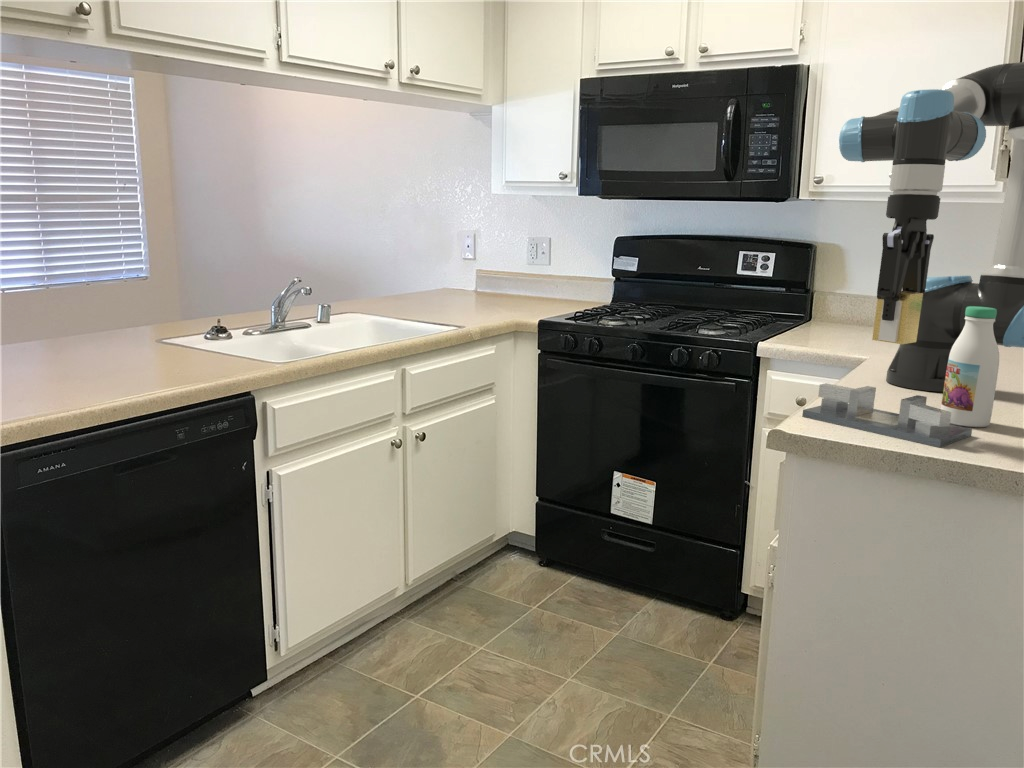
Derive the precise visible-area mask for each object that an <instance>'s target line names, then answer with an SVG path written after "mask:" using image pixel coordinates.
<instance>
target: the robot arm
mask: <svg viewBox="0 0 1024 768" xmlns="http://www.w3.org/2000/svg"><path fill="white" fill-rule="evenodd" d="M986 127H1008V129H1007V134H1008V135H1009V136H1010V138H1011V139H1012V140H1013V141H1014V145H1013V150H1012V155H1011V159H1010V161H1011V162H1010V164H1009V165H1010V167H1009V172H1008V177H1007V182H1006V186H1005V192H1004V198H1003V203H1002V207H1001V213H1000V219H999V223H998V229H997V233H996V239H995V245H994V250H993V255H992V261H991V266H989V267H988V268H987V269H986V270H984V271H983V272H981V273H980V275H979V276H980V277H979V282H978V283H974V281H973V278H972V276H971V275H950V276H932V277H931V276H929V277H928V272H929V265H930V258H931V250H932V246H933V244H934V243H933V242H934V239H935V236H934V234H931V233H927V232H928V231H927V230H928V229H927V222H928V220H932V221H934V220H937V218H938V216H939V213H940V204H941V197H940V195H938V193H940V192H942V191H943V184H944V177H945V169H946V161H948V162H953V161H954V162H958V161H959V162H960V161H965V160H969V159H971V158H973V157H974V156H975V155H977V154H978V153H979V152H980V151H981V149H982V148H983V146H984V144H985V142H986V138H987V130H986ZM838 142H839V143H838V144H839V146H838V148H839V152H840V154H841V157H842V158H843V159H845V160H846V161H848V162H860V163H865V162H887V161H888V162H889V161H892V166H891V172H889V173H888V177H889V178H890V182H889V183H890V184H889V190H890V191H891V192H893V193H892V194H889V196H888V197H887V203H886V210H885V212H886V213H885V216H886V218H888V219H895V220H894V224H893V226H892V230H891V232H884V233H883V234H882V239H881V240H882V253H881V259H880V266H879V275H878V283H877V290H876V300H878V299H883V306H882V314H881V322H880V330H879V338H878V340H884V341H891V342H897V337H898V330H899V322H900V315H901V307H902V301H899V299H900V295H901V291H909V292H918V293H923V298H922V305H921V312H920V319H919V326H918V333H917V340H916V342H914V343H908V344H899V345H898V346H899V347H898V349H897V350H896V352H895V355H894V357H893V359H892V361H891V362H890V364H889V366H888V368H887V371H886V376H885V378H886V379H885V381H886V382H887V383H888V384H891V385H894V386H896V387H897V386H898V387H901V388H907V389H912V390H919V391H927V392H938V393H939V392H942V393H943V390H944V383H945V377H946V371H947V364H948V359H949V355H950V351H951V349H952V346H953V344H954V343H955V341H956V340H957V338H958V337H959V335H960V334H961V332H962V330H963V328H964V326H965V322H966V320H965V319H964V318H965V311H966V308H967V307H969V306H977V307H989V308H995V309H997V315H996V318H995V322H994V323H993V331H994V336H995V340H996V343H997V346H1003V347H1004V348H1012V347H1013V348H1022V349H1023V348H1024V61H1021V62H1011V63H1009V62H1008V63H1001V64H996V65H992V66H988V67H985V68H983V69H982V68H981V69H980V70H976V71H975V72H972V73H969V74H968V73H967V74H966V75H964V76H962V77H961V76H960V77H958V78H956V79H953V80H951V81H949V82H947V83H945V85H943V86H942V87H941V88H940V89H937V88H936V89H934V88H933V89H931V88H930V89H917V90H911V91H908V92H906V93H904V94H903V95H902V98H901V99H900V105H899V107H896V108H894V109H891V110H889V111H886V112H882V113H880V114H878V115H874V116H864V115H863V116H861V117H855V118H854V117H853V118H850V119H848V120H847V121H846V122H845V123H844V124H843V126H842V127H841V130H840V131H839V137H838Z"/></svg>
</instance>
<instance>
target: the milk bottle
mask: <svg viewBox="0 0 1024 768" xmlns="http://www.w3.org/2000/svg"><path fill="white" fill-rule="evenodd" d="M996 315H997V309H995V308H989V307H977V306H969V307H967V308H966V311H965V318H964V319H965V320H966V322H965V326H964V328H963V330H962V332H961V334H960V335H959V337H958V338H957V340H956V341H955V343H954V344H953V346H952V349H951V351H950V355H949V359H948V364H947V371H946V377H945V383H944V390H943V392H942V396H941V397H942V398H941V399H942V400H941V405H940V409H942V410H945V411H949V412H952V413H951V420H950V424H951V425H956V426H961V427H966V428H987V427H989V425H990V423H991V419H992V414H993V407H994V403H995V401H994V400H995V396H996V395H995V394H996V388H997V382H998V374H999V369H1000V368H999V367H1000V349H999V345H997V343H996V340H995V336H994V331H993V323H994V322H995V318H996Z"/></svg>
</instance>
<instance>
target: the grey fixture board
mask: <svg viewBox="0 0 1024 768" xmlns="http://www.w3.org/2000/svg"><path fill="white" fill-rule="evenodd" d="M876 392H877V387H876V386H870V385H866V386H861V387H857V388H852V387H848V386H843V385H837V384H832V383H820V384H819V388H818V398H821V403H820V405H818V406H817V405H816V406H813V407H809V408H804V409H802V417H803V418H807V419H811V420H817V421H819V422H820V421H821V422H825V423H828V424H833V423H834V425H838V426H843V427H847V428H852V429H857V430H860V431H864V432H869V433H874V434H879V435H883V436H887V437H891V438H896V439H900V440H904V441H910V442H913V443H917V444H922V445H927V446H931V447H936V448H943V447H945V446H948V445H951V444H955V443H956V442H959V441H961V440H965V439H967V438H970V437H972V433H973V428H972V427H967V426H960V425H955V424H951V423H950V420H951V413H952V412H949V411H945V410H942V409H941V408H937V407H935V406H930V405H927V397H928V396H924V395H919V394H918V395H912V396H909V397H905V398H901V400H900V404H899V406H900V407H899V413H896V412H891V411H887V410H882V409H876V408H874V406H875V400H876V399H875V398H876Z"/></svg>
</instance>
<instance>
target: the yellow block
mask: <svg viewBox="0 0 1024 768" xmlns="http://www.w3.org/2000/svg"><path fill="white" fill-rule="evenodd" d="M922 298H923V293H918V292H909V291H901V295H900V299H899V301H902V307H901V315H900V322H899V330H898V337H897V342H891V341H884V340H878V338H879V330H880V322H881V314H882V306H883V299H876V301H877V302H876V307H875V315H874V323H873V330H872V331H873V332H872V337H871V339H872V340H871V341H876V342H884V343H890V344H898V345H900V344H908V343H914V342H916V340H917V333H918V326H919V319H920V312H921V305H922Z"/></svg>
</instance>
